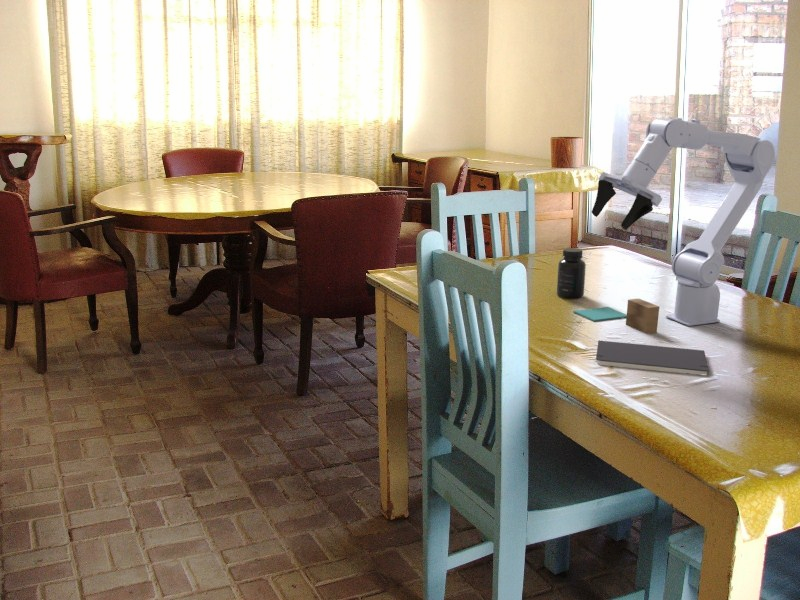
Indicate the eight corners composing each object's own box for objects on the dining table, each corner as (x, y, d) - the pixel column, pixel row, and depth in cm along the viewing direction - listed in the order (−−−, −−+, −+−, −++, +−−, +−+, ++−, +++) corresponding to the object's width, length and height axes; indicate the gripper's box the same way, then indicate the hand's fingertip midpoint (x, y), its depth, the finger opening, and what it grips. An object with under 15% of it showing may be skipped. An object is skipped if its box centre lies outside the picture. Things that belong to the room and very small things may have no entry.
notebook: (703, 357, 177) (597, 347, 182) (704, 350, 176) (598, 340, 181) (708, 378, 165) (595, 366, 170) (709, 370, 165) (595, 359, 170)
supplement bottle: (563, 290, 224) (566, 245, 221) (587, 295, 220) (591, 249, 217) (551, 296, 219) (554, 250, 215) (576, 301, 215) (580, 253, 212)
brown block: (625, 325, 196) (628, 299, 194) (636, 323, 197) (638, 298, 196) (645, 333, 190) (648, 307, 188) (656, 332, 191) (659, 306, 190)
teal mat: (607, 308, 209) (607, 306, 209) (628, 317, 202) (629, 315, 202) (573, 312, 205) (573, 310, 205) (593, 321, 198) (593, 319, 198)
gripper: (609, 147, 184) (575, 200, 184) (668, 170, 176) (631, 225, 175) (619, 163, 190) (585, 214, 190) (676, 186, 181) (641, 239, 181)
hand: (608, 221), depth 183 cm, fingers open, 7 cm apart
